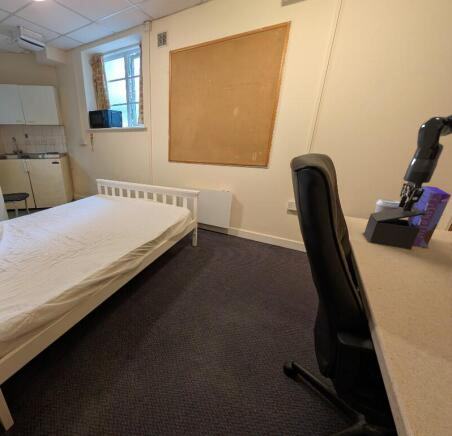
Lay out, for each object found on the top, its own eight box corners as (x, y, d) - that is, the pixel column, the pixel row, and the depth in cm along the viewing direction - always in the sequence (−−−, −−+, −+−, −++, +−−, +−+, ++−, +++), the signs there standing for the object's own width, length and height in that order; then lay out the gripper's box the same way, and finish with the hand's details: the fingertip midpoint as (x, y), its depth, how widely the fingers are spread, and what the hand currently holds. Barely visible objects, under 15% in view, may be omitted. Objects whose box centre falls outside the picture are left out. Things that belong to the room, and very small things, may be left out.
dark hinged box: (401, 239, 104) (409, 220, 100) (411, 249, 95) (420, 228, 91) (363, 233, 110) (370, 215, 107) (369, 242, 101) (376, 222, 98)
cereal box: (426, 247, 96) (451, 194, 88) (410, 244, 99) (433, 192, 90) (416, 234, 109) (436, 187, 101) (402, 232, 112) (421, 185, 103)
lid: (413, 207, 98) (410, 196, 98) (425, 214, 89) (422, 203, 89) (370, 215, 107) (368, 205, 106) (377, 222, 98) (374, 212, 97)
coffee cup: (397, 231, 113) (408, 203, 108) (382, 232, 112) (392, 204, 106) (377, 224, 122) (387, 198, 117) (363, 225, 120) (372, 199, 115)
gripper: (442, 173, 82) (423, 215, 89) (425, 168, 94) (409, 206, 100) (414, 171, 86) (397, 212, 92) (401, 167, 98) (387, 203, 104)
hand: (403, 208), depth 96 cm, fingers closed on lid, 5 cm apart
